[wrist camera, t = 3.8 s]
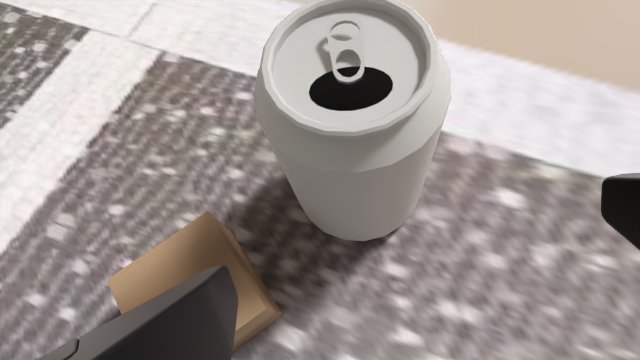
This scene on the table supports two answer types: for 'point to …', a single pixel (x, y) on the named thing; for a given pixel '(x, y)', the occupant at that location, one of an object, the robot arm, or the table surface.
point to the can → (353, 111)
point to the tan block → (190, 259)
